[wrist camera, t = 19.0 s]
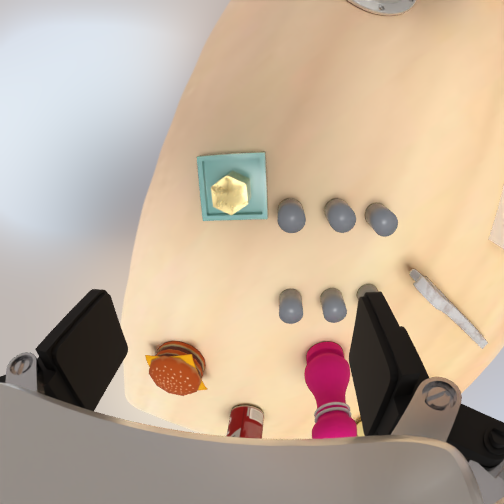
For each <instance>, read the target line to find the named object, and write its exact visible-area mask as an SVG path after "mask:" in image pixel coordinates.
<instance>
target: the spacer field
mask: <svg viewBox="0 0 504 504" xmlns="http://www.w3.org/2000/svg"><path fill="white" fill-rule="evenodd" d="M325 215H326V217H327V219H328V221H329V223H330V225H331V227H332V228H333V229H334V230H335V231H337V232H340V233H344V232H348V231H349V230H351V229H352V228H353V227H354V225H355V222H356V216H355V213H354V211H353V210H352V209H351V208H350V207H349V206H348V204H347V203H346V202H345V201H344V200H342V199H338V198H336V199H332V200H330V201H329V202H328V203H327V204H326V206H325ZM365 218H366V221H367V222H368V224H369V225H370V226H371V227H372V228H373V229H374V230H375V232H376V233H377V234H378V235H380V236H389V235H391V234H393V233H394V232H395V230H396V228H397V225H398V220H397V217H396V216H395V214H394V213H392V212H391V211H390V210H389V209H387V208H386V207H385V206H384V205H382V204H380V203H373V204H371V205H370V206H369V207H368V208H367V209H366V212H365ZM305 220H306V219H305V214H304V211H303V207H302V205H301V203H300V202H299V201H297V200H295V199H286V200H284V201H282V202H281V203H280V205H279V207H278V224H279V226H280V228H281V229H282V230H283V231H285V232H288V233H296V232H298V231H300V230H301V229H302V228H303V227H304V225H305ZM366 292H378V290H377V288H376V287H375V286H374V285H372V284H366V285H363V286H362V287H361V288H360V289H359V290H358V292H357V298H358V300H359V298H360V297H361V296H364V294H365V293H366ZM321 304H322V309H323V314H324V318H325V319H326V320H327V321H328V322H332V323H335V322H339V321H341V320H343V319H344V318H345V316H346V314H347V310H346V306H345V303H344V300H343V297H342V294H341V292H340V291H339V290H338V289H335V288H329V289H327V290H325V291H324V292H323V293H322V294H321ZM279 316H280V319H281V320H282V321H283V322H285V323H289V324H293V323H296V322H298V321H300V320H301V318H302V317H303V308H302V298H301V294H300V293H299V292H298V291H297V290H295V289H287V290H285V291H283V292H282V293H281V295H280V298H279Z"/></svg>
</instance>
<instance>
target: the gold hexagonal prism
mask: <svg viewBox="0 0 504 504" xmlns="http://www.w3.org/2000/svg"><path fill="white" fill-rule="evenodd" d="M211 194H212V202H213V207H215V208H217V209H219V210H221V211H223V212H225V213H227V214H230V215H233V214H234V213H236V212H237V211H239V210H240V209H242V208H243V207H245V206H246V205H248V203H249V201H250V198H251V188H250V179H249V178H247V177H245V176H243V175H241V174H239V173H237V172H234V171H232V172H230V173H229V174H227V175H226V176H224V177H223V178H222V179H220V180H219V181H217V182H216V183H215V184H214V185H213V186H211Z"/></svg>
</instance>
